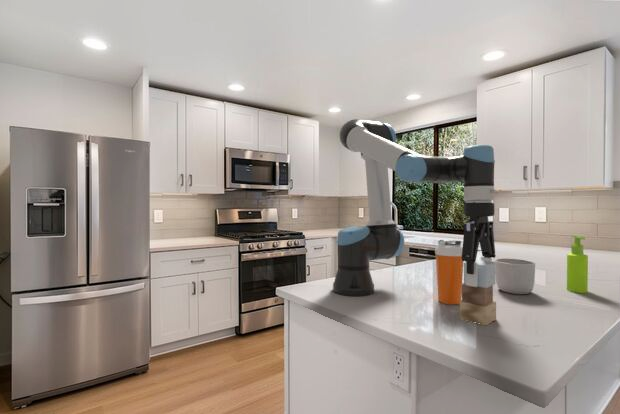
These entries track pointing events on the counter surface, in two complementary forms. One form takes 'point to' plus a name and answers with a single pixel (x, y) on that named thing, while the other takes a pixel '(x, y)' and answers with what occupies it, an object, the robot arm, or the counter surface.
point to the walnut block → (477, 295)
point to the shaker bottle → (449, 271)
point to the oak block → (478, 312)
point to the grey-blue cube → (484, 273)
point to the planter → (515, 275)
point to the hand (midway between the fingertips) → (479, 282)
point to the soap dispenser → (577, 268)
